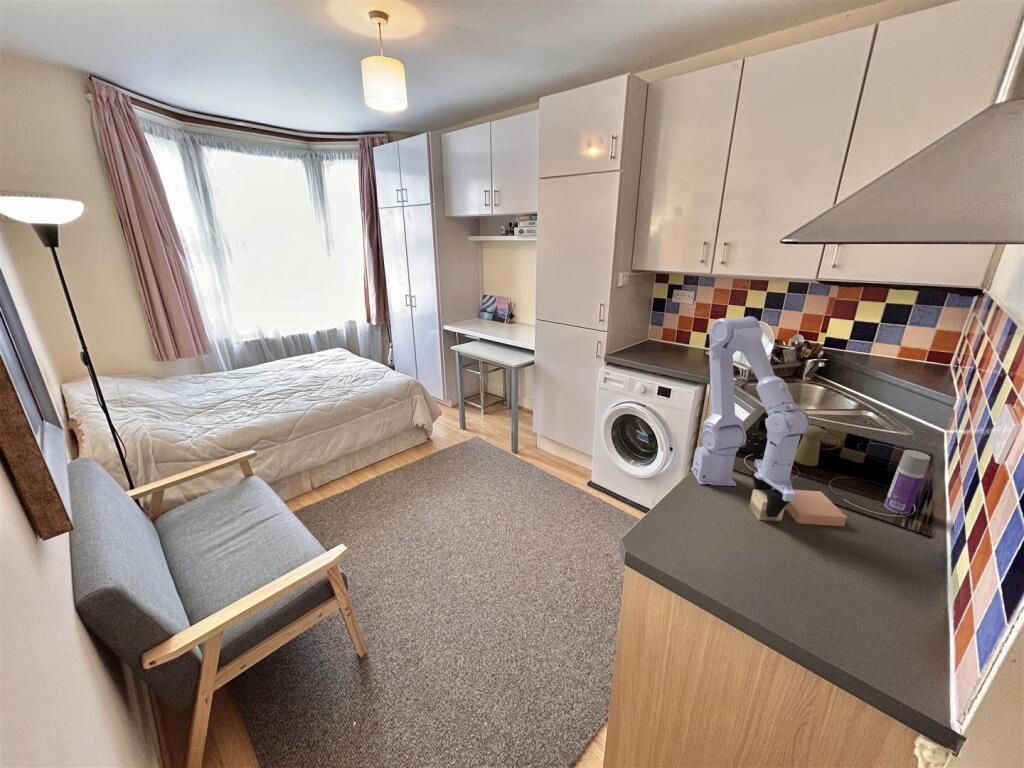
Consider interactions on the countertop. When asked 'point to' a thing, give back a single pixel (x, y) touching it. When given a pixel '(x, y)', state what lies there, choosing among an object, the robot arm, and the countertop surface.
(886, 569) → the countertop surface
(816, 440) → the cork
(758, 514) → the beech cube
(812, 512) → the terracotta block
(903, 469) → the container
